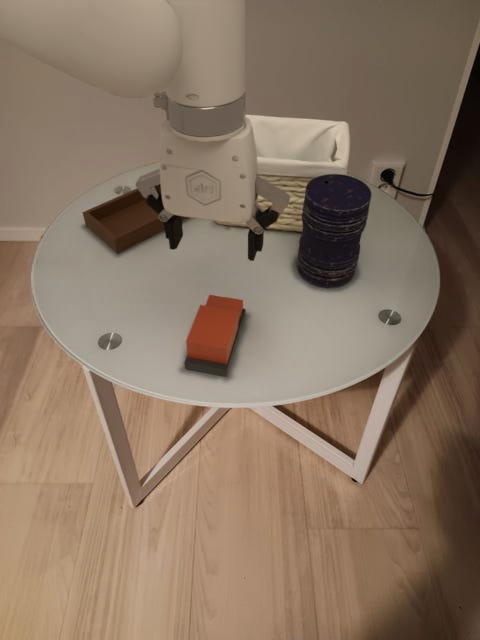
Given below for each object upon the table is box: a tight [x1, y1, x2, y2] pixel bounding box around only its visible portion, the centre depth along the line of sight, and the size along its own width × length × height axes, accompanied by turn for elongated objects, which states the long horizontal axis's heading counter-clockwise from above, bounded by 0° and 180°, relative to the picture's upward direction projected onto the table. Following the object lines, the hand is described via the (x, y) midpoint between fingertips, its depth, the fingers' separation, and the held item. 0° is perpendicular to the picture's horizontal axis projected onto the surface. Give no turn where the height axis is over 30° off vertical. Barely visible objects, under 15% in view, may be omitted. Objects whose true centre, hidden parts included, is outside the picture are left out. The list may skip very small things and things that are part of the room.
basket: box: [214, 113, 351, 233], centre depth 92 cm, size 24×16×15 cm
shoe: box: [183, 294, 246, 378], centre depth 73 cm, size 12×6×5 cm, turn 167°
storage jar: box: [296, 174, 373, 289], centre depth 80 cm, size 10×10×15 cm
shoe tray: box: [82, 184, 190, 254], centre depth 94 cm, size 18×11×3 cm, turn 132°
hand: (214, 248), depth 62 cm, fingers open, 9 cm apart
